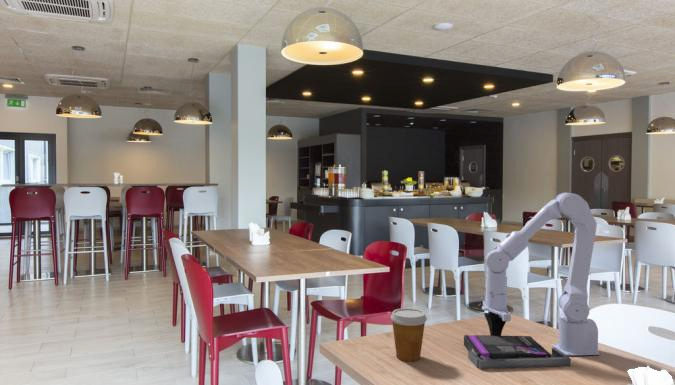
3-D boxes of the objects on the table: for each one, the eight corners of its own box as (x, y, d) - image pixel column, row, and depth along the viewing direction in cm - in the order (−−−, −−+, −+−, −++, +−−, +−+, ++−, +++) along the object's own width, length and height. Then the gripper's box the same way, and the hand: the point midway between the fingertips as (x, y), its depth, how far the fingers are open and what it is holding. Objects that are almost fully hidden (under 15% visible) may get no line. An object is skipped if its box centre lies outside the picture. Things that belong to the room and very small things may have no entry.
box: (476, 366, 124) (552, 366, 124) (476, 353, 124) (552, 352, 124) (463, 346, 138) (531, 346, 138) (463, 334, 138) (531, 334, 138)
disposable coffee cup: (427, 352, 131) (428, 309, 131) (424, 365, 122) (425, 319, 122) (393, 349, 134) (393, 306, 133) (387, 361, 125) (387, 316, 124)
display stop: (555, 355, 130) (555, 348, 130) (571, 366, 122) (571, 358, 122) (468, 358, 127) (468, 350, 127) (479, 369, 120) (479, 361, 120)
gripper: (473, 286, 145) (472, 330, 146) (493, 298, 131) (492, 347, 131) (495, 286, 146) (495, 330, 146) (518, 298, 132) (517, 347, 132)
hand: (495, 338), depth 139 cm, fingers closed
